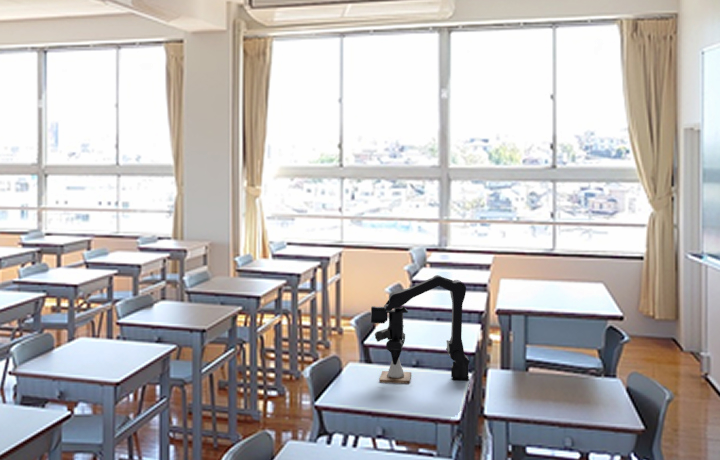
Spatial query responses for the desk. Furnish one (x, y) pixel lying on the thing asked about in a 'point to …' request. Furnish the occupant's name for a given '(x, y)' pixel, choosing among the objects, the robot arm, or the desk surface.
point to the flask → (395, 370)
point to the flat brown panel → (386, 379)
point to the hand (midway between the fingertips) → (395, 361)
